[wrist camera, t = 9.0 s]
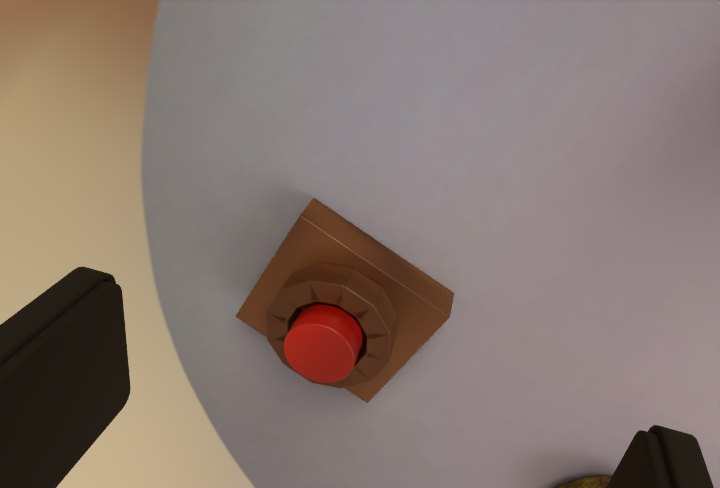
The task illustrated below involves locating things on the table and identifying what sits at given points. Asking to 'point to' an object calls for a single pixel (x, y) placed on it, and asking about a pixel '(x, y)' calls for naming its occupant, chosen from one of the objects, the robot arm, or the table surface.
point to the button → (323, 343)
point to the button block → (348, 295)
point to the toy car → (588, 482)
